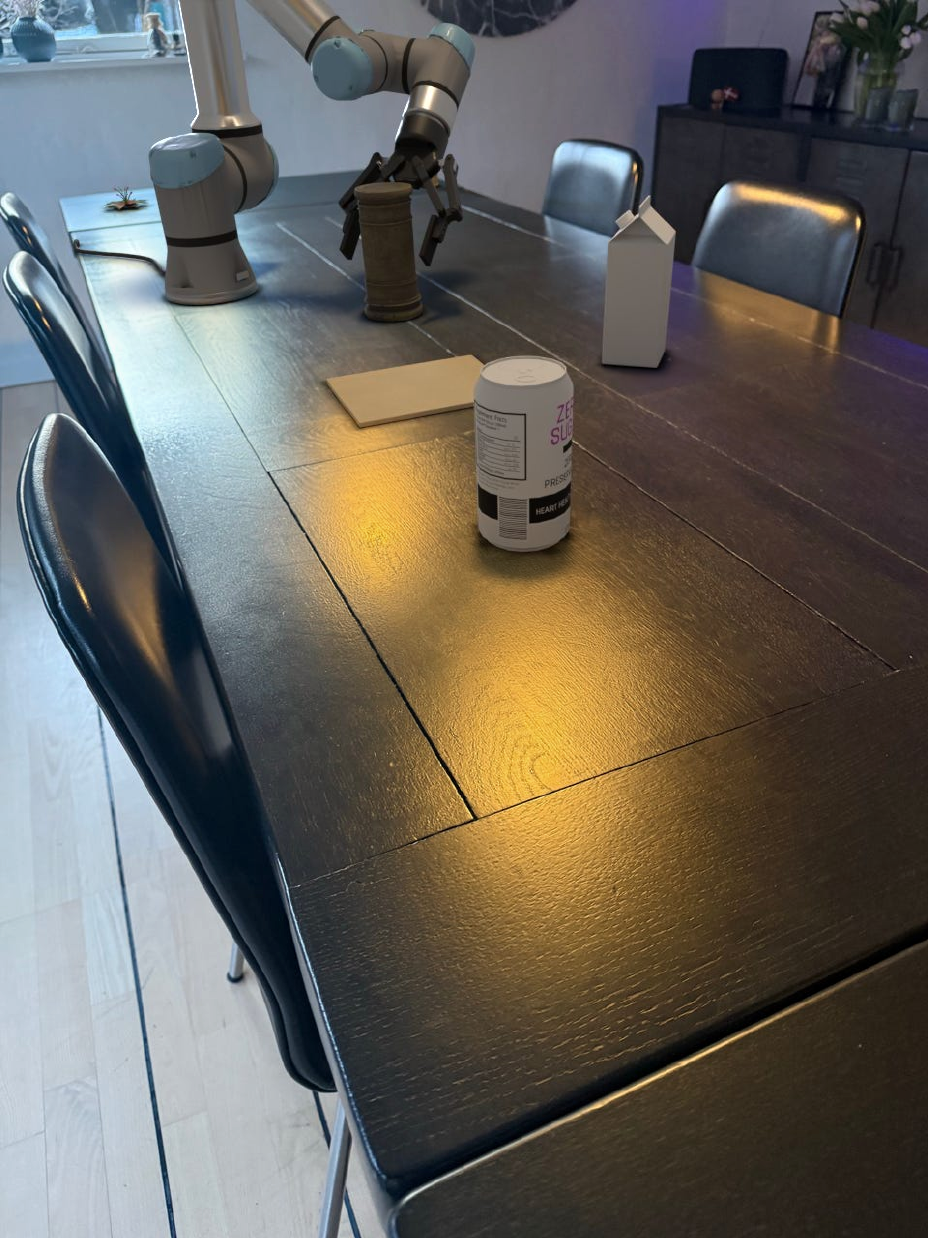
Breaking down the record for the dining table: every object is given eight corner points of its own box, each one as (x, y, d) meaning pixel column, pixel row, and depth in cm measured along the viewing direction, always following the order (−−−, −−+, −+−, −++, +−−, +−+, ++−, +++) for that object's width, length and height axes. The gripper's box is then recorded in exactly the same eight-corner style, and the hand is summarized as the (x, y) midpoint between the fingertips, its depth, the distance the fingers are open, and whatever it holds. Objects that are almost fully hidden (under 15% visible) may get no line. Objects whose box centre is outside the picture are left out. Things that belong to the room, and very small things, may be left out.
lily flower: (143, 210, 218) (138, 190, 216) (94, 212, 219) (89, 192, 216) (157, 201, 228) (153, 181, 225) (111, 203, 228) (106, 183, 226)
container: (415, 322, 134) (405, 191, 124) (357, 321, 136) (343, 192, 125) (429, 305, 141) (421, 180, 131) (374, 304, 143) (362, 180, 133)
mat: (326, 383, 114) (325, 378, 114) (471, 358, 120) (471, 354, 120) (359, 427, 102) (359, 422, 102) (520, 397, 108) (520, 393, 107)
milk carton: (665, 351, 119) (679, 195, 108) (656, 369, 114) (670, 207, 103) (612, 347, 121) (620, 194, 110) (601, 365, 116) (609, 206, 105)
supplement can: (474, 514, 84) (468, 356, 75) (561, 507, 84) (565, 350, 76) (483, 559, 77) (477, 391, 69) (577, 551, 78) (583, 383, 69)
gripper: (508, 147, 133) (468, 278, 131) (366, 145, 143) (326, 266, 141) (492, 111, 126) (449, 248, 124) (344, 111, 136) (301, 237, 134)
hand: (384, 258), depth 132 cm, fingers open, 13 cm apart
